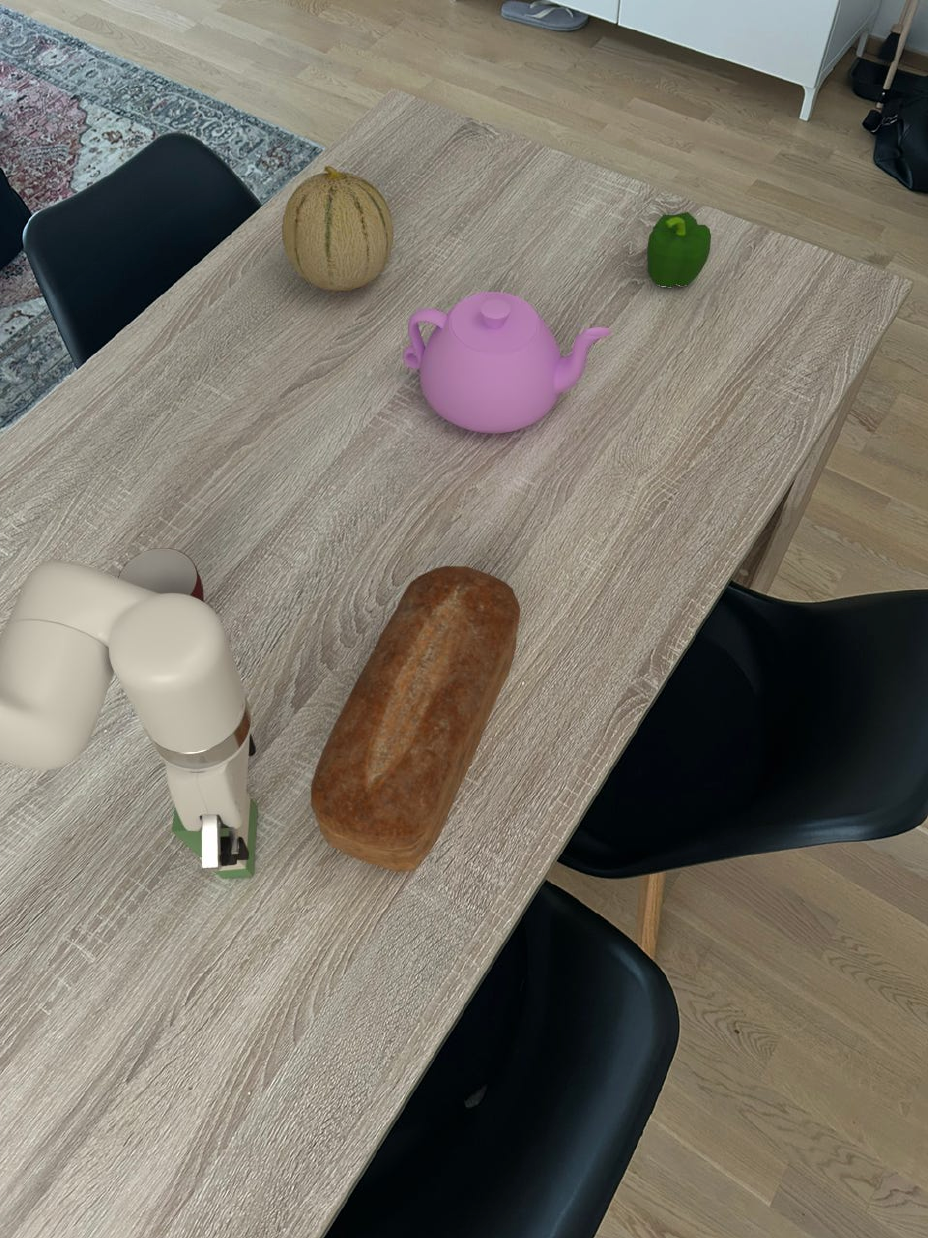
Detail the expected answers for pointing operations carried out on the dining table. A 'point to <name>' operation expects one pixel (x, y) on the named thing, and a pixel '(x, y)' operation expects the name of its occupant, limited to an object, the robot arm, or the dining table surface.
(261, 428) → the dining table surface
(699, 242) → the bell pepper
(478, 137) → the dining table surface
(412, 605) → the bread
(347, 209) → the cantaloupe
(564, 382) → the teapot
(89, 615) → the robot arm
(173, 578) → the mug
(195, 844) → the block
